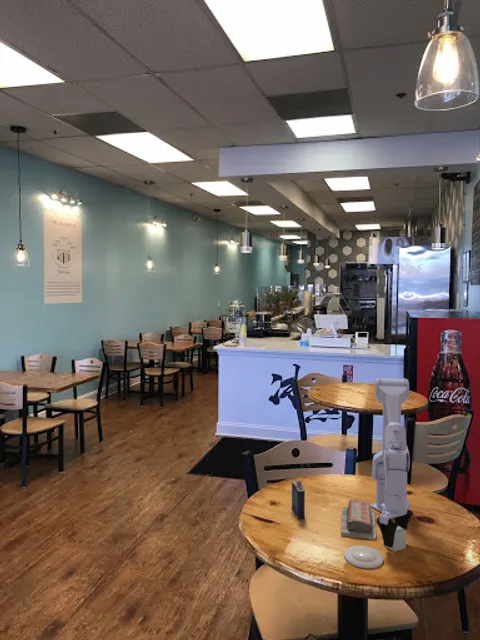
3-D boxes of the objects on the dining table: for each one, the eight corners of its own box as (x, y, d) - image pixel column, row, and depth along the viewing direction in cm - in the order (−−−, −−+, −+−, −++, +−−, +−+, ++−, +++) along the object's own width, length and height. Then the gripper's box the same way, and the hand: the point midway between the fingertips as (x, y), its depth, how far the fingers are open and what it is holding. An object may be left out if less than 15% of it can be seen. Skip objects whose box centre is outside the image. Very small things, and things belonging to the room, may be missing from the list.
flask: (290, 507, 159) (291, 475, 159) (299, 507, 160) (299, 474, 159) (297, 520, 150) (298, 486, 150) (307, 519, 150) (307, 485, 150)
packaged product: (342, 496, 158) (374, 500, 155) (342, 511, 158) (374, 515, 155) (340, 520, 140) (376, 525, 138) (340, 537, 140) (376, 542, 138)
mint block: (394, 541, 137) (395, 524, 137) (405, 548, 134) (406, 530, 134) (383, 545, 135) (383, 527, 135) (393, 551, 132) (394, 533, 132)
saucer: (364, 545, 135) (365, 541, 135) (391, 562, 126) (391, 558, 126) (336, 553, 130) (336, 549, 130) (361, 572, 121) (361, 567, 121)
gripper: (393, 481, 142) (392, 527, 143) (369, 495, 131) (368, 545, 132) (417, 488, 137) (416, 535, 138) (394, 503, 127) (393, 554, 127)
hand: (394, 540), depth 134 cm, fingers open, 7 cm apart
